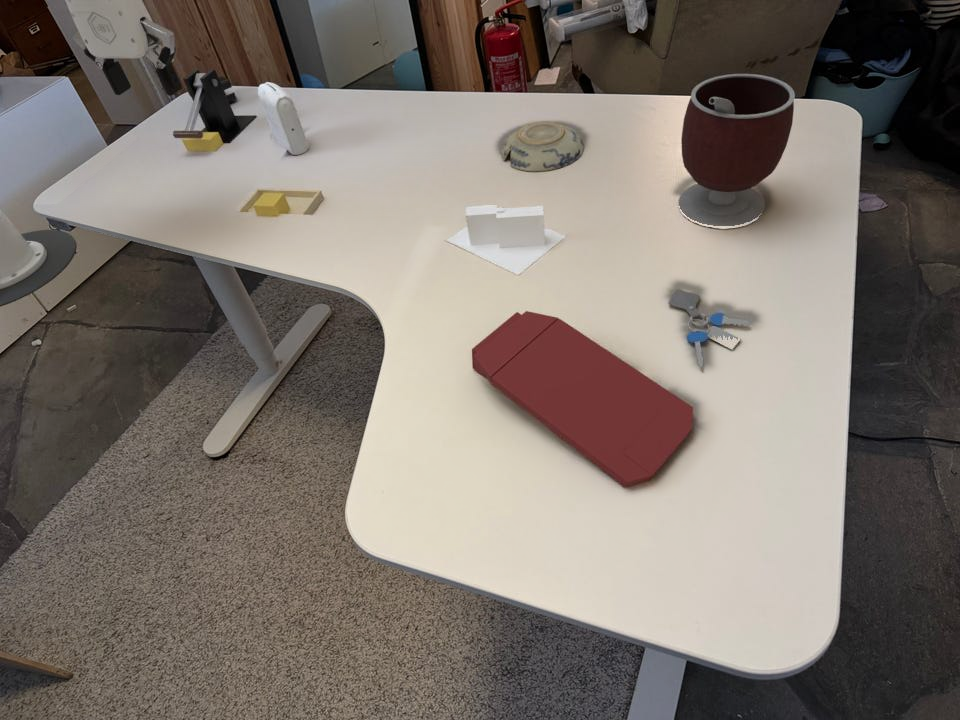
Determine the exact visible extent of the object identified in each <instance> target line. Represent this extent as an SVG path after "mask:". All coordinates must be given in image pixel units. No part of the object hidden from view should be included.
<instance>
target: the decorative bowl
mask: <svg viewBox="0 0 960 720" xmlns="http://www.w3.org/2000/svg"><path fill="white" fill-rule="evenodd" d="M584 150H585V145H584V142H583V140H582V139H581V137H580V136H579V135H578V134H577V133H576V132H575V131H574V130H572V129H571V128H569V127H567V126H564V125H563V124H562V125H561V124H560V123H557V122H554V121H549V120H542V121H541V120H540V121H534V122H531V123H528V124H526V125H523V126H522V127H521V128H520V129H519V130H517V131H515V132H514V133H513V134H511V135H510V136H509V137H508V139H506V141H505V143H504V144H503V145H502V147H501V150H500V155H501V159H502V160H503V162H505V161H506V159H507V158H508V156H509V155H510V167H512V168H513V169H516V170H517V171H519V170H520V171H523V172H531V173H535V172H536V173H537V172H539V173H540V172H549V171H553V170H557V169H561V168H564V167H566V166H569V165H572V163H574V162H575V161H577V160H578V159H579V158H580V157H581V156H582V154H583V152H584Z"/></svg>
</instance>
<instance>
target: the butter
mask: <svg viewBox="0 0 960 720" xmlns="http://www.w3.org/2000/svg"><path fill="white" fill-rule="evenodd" d="M202 133H203V137H202V138H181V142H182V143H183V146H184V147H185V149H186V151H187V152H217V150H219V149H220V147H222V146H223V145H224V143H223V142H222V139H221V137H220V135H219V133H218V132H202Z"/></svg>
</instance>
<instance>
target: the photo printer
mask: <svg viewBox="0 0 960 720" xmlns="http://www.w3.org/2000/svg"><path fill="white" fill-rule="evenodd" d="M257 97H258V100H259V102H260V104H261V107H262V109H263V113H264V114H265V117H266V120H267V123H268V125H269V128H270V130H271V133H272V137H273V138H274V140H275V141H276V142H277V143H278V144H279V145H280V146H282V147H283V148H284V149H286V152H287V153H289V154H290V155H292V156H294V155H295V156H299V155H302V154H305V153H306V152H307V151H308V150H309V144H308V141H307V137H306V134H305V132H304V129H303V126H302V123H301V121H300V118H299V117H300V116H299V114H298V111H297V109H296V106H295V103H294V100H293V98H292V97H291V96H290V95H289V93H288V92H286V91H285V89H283V88H282V87H281V86H280V85H278V84H276V83H274V82H269V81H266V82H264V83H260V84H259V86H258V88H257Z"/></svg>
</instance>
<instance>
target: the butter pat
mask: <svg viewBox="0 0 960 720" xmlns="http://www.w3.org/2000/svg"><path fill="white" fill-rule="evenodd" d="M253 207H254V209H255V212H256V213H255V214H256V216H260V217H279V216H280V215H288V214H287V213H288V212H289V210H290V207H289V205H288V202H287V200H286V197H285V195H284V193H263V194H262V195H261V197H260V198H259V199H258V200H257V201H256V202H255V204H254V205H253Z"/></svg>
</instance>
